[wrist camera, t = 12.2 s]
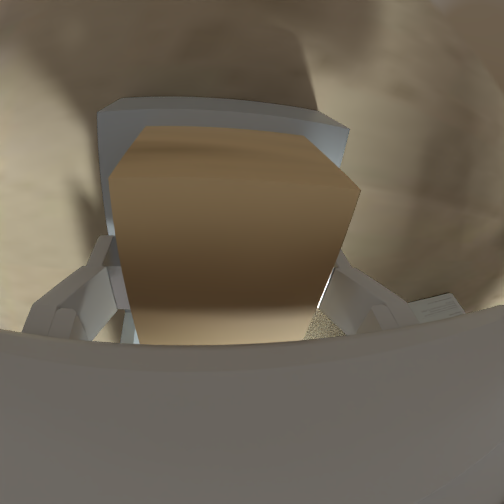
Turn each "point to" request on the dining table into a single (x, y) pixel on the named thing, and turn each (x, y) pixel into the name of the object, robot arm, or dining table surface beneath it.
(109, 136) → the trap trough
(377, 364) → the robot arm
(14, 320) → the dining table surface
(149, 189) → the oak block
